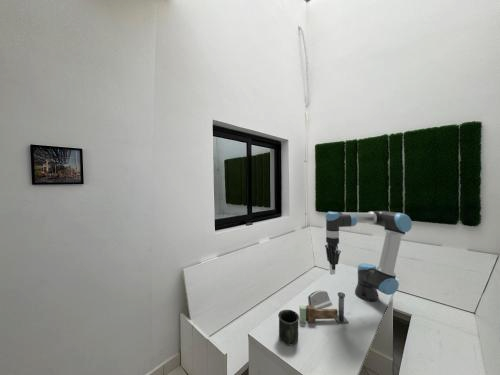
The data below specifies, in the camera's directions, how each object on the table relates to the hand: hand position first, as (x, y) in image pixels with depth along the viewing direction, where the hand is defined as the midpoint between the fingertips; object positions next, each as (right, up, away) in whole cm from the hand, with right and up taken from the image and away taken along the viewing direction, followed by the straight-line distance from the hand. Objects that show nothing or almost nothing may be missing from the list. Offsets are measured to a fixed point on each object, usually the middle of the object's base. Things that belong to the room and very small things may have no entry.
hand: (332, 273), depth 125 cm
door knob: (+3, -26, -5) cm, 27 cm away
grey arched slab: (-5, -26, +10) cm, 28 cm away
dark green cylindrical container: (-31, -26, -18) cm, 44 cm away
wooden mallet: (-8, -26, -6) cm, 27 cm away
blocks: (-19, -26, -4) cm, 32 cm away
